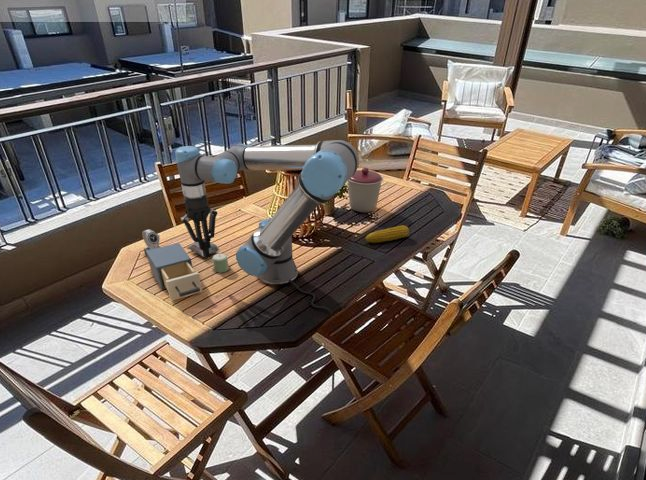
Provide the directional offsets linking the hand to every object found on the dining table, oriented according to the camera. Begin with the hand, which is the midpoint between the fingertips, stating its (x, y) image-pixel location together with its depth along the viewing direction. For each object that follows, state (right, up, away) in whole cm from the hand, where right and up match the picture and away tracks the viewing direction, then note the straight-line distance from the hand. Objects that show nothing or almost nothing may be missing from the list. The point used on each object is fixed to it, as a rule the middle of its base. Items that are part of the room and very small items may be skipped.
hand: (206, 256), depth 164 cm
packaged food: (-8, +4, +24) cm, 26 cm away
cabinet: (-16, -7, +9) cm, 19 cm away
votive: (+2, -3, +14) cm, 14 cm away
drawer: (-8, -13, -1) cm, 15 cm away
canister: (+61, +33, +65) cm, 95 cm away
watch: (-28, +3, +22) cm, 36 cm away
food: (+71, +12, +37) cm, 81 cm away
